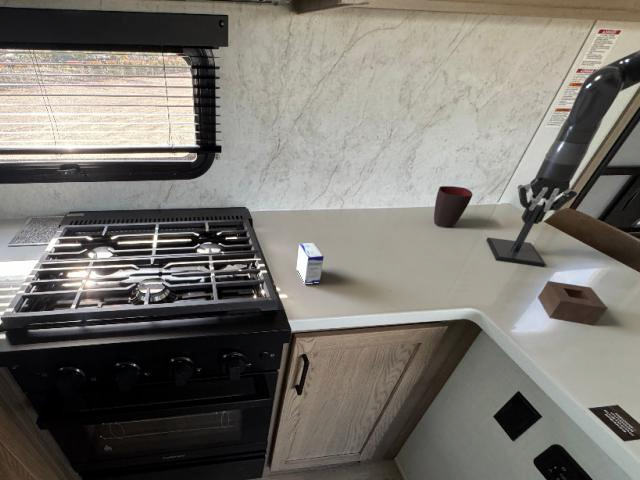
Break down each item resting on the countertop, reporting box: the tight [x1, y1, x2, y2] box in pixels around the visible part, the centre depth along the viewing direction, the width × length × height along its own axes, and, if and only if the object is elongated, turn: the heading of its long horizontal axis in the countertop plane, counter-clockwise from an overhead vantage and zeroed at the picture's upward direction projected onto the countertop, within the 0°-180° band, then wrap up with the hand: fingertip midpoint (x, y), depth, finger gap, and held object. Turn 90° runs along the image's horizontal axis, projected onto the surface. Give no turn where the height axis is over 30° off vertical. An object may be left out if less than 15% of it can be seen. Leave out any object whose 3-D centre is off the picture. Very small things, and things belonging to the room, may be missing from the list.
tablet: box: [486, 237, 546, 268], centre depth 105 cm, size 12×14×1 cm
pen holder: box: [537, 280, 608, 326], centre depth 81 cm, size 9×9×5 cm
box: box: [296, 242, 325, 286], centre depth 93 cm, size 8×4×9 cm, turn 9°
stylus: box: [511, 203, 543, 252], centre depth 100 cm, size 2×2×14 cm
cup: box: [433, 185, 474, 229], centre depth 121 cm, size 10×14×12 cm
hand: (530, 222), depth 99 cm, fingers closed on stylus, 2 cm apart
